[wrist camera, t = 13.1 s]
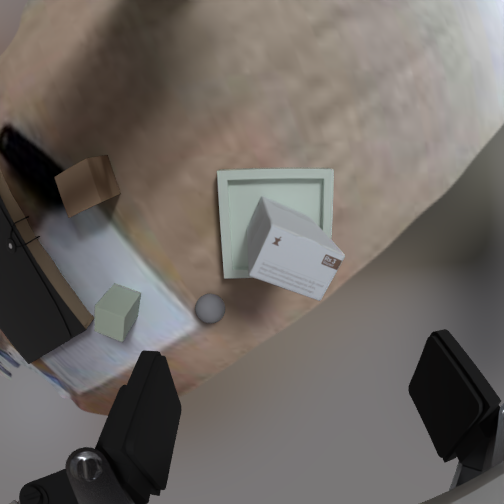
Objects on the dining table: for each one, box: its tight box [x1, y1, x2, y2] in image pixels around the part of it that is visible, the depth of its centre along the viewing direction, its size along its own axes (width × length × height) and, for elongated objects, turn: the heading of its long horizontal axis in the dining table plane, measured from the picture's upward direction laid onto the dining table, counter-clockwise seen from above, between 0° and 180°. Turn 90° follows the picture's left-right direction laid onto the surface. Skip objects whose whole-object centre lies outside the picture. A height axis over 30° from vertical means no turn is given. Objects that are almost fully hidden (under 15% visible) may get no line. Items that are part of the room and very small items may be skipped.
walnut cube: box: [55, 155, 121, 218], centre depth 28 cm, size 5×5×5 cm
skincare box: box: [247, 196, 345, 301], centre depth 26 cm, size 6×4×12 cm
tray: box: [217, 168, 334, 279], centre depth 31 cm, size 12×12×2 cm
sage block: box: [95, 283, 141, 342], centre depth 33 cm, size 4×4×6 cm
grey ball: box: [195, 294, 225, 323], centre depth 34 cm, size 4×4×4 cm
